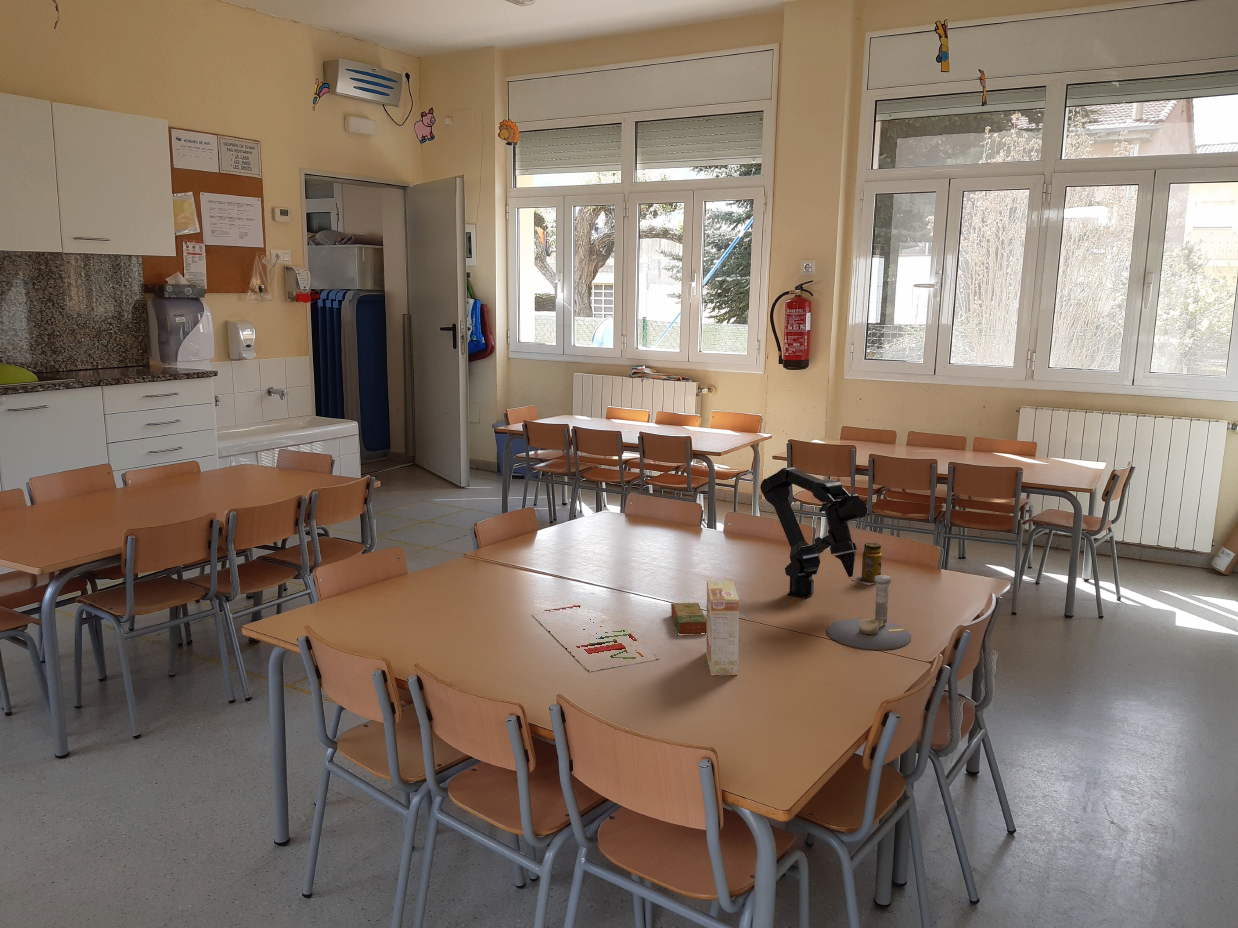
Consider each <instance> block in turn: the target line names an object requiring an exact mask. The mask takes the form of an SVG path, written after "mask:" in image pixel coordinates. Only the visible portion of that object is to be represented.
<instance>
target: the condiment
mask: <svg viewBox="0 0 1238 928" xmlns="http://www.w3.org/2000/svg"><path fill="white" fill-rule="evenodd" d="M863 547H864V548H863V552H862V558H861V559H862V561H861V562H862V563H861V576H858V577H854V578H852V580H853V581H855V582H857V583H860V584H864V585H868V586H871V585H875V584H877V583H876V582H875V576H877V575H882V560H883V558H882V557H883V555H882V545H881V544H880V543H875V542H867V543H864V546H863Z"/></svg>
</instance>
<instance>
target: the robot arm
mask: <svg viewBox="0 0 1238 928" xmlns="http://www.w3.org/2000/svg"><path fill="white" fill-rule="evenodd" d="M793 485H795V486H797V487H799V488H801V489H803V490H806V491H808V492H810V493H811V494H812V496H813V498H815V499H816V500H818V501H819V502H821V503H822V504H821V507H820V508H819V510H818V511H819V513H822V512H824V515H825V519H826V523H827V528H828V530H827V535H826V536H824V537H820V536H817V537H815V538H814V539H813V543H812V544H809V543H808V542H807V540H806V539H805V536H804V534H803V532H802V529H801V527H800V524H799V522H798V519H797V517H796V515H795V512H794V511H793V507H792V506H791V502H790V501H789V499H790V495H791V494H790V493H791V490H790V487H792V486H793ZM759 489H760V492H761V493H762V496H763V498H765V499H764V500H765V501H766V502H768V503H769V504H770V505H771V506H773V507H774V508H773V509H774V510H775V512H776V515H777V519H778V520H779V522H780V525H781V527H782V529H783V532H784V534H785V537H786V539H787V541H788V545H789V546H790V551H789V560H790V562H789V563H788V564H787V565H786V567H784V571H785V575H786V576H787V577H789V591H788V592H787V596H793V597H798V598H806V599H807V598H809V597H810V596H811V595H813V594H814V593H815V592H814V591H815V590H814V586H815V584H814V583H815V581H814V579H813V575H814V576H815V575H817V573H818V570H819V568H820V564H821V558H820V557H821V555H820V554H821V553H823V552H824V551H825V550H826V549H828V548H829V551H830V555H833V557H834V558H837V559H838V560H840V562H841V563H842V567H843V568H844V570H845V572H846V575H847V576H848V578H852V577H853V575H854V569H855V568H854V567H855V561H856V556H857V551H856V550H858V547H857V543H856V542H854V540H853V538H852V535H851V529H850V528H851V527H850V525H849V522H851V521H854V520H859V519H863V518H865V517H866V516H867V513H868V505H867V504H866V502H865V501H864V500H863V499H862V498H860V495H859V494H852V495H851V494H850V493H849V492H848V491H847V490H846V489H845V488H844V486H843V484H842V482H840V481H839V480H832V479H822V478H819V477H816V476H813V475H811V474H809V473H807V472H804V471H802V470H799V469H797V468H796V467H794V466H787V467H783V468H780V470H778V471H777V472H775V473H773V474H772V475H770V476H768V477H767V478H766V477H765V478H763V479H762V481H761V484H760V485H759Z"/></svg>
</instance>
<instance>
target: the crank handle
mask: <svg viewBox="0 0 1238 928" xmlns="http://www.w3.org/2000/svg"><path fill="white" fill-rule="evenodd" d="M875 582H876V583H875V584H876V591H875V610H874V612H875V615H874V618H873V619H874V620H873V619H872V618H861V619H862V620H860V621H859V631H860V632H861V633H864V634H877V633H878V628H879V627H881V626H882V625H884V624H885V623H887V622H888V605H889V585H890V584H891V583H892V577H891V576H889V575H884V574H881V575H877V576H875Z"/></svg>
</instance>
